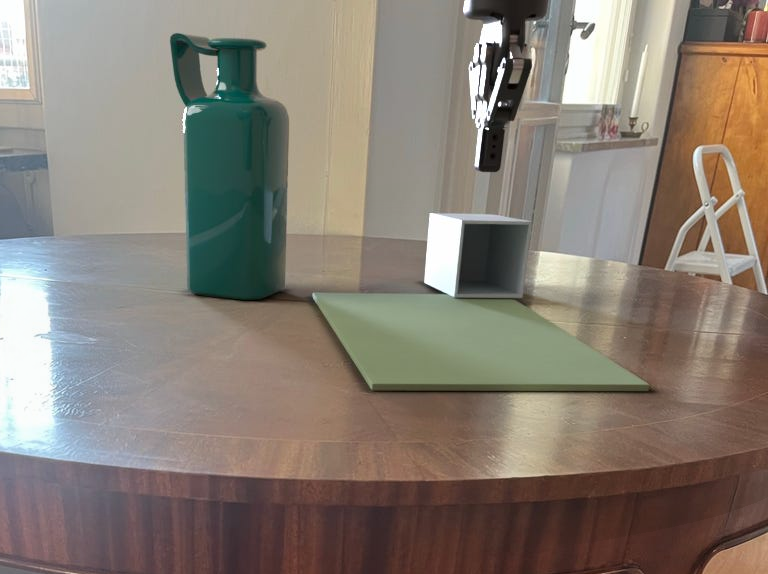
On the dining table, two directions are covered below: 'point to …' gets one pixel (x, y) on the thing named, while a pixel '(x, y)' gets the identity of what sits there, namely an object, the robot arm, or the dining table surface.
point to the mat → (464, 345)
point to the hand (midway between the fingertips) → (486, 171)
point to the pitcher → (232, 172)
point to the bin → (477, 255)
